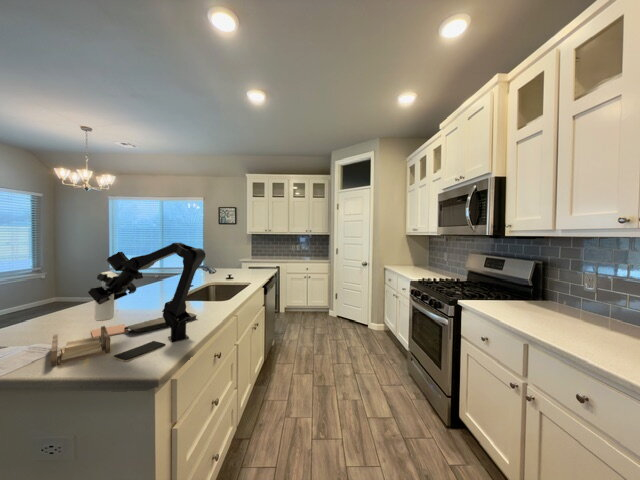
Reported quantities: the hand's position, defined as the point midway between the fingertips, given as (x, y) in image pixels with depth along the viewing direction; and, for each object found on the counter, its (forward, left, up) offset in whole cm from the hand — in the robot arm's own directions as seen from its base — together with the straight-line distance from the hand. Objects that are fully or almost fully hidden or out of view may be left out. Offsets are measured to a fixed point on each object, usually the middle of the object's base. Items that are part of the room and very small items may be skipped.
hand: (101, 303), depth 114 cm
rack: (-16, +7, -13) cm, 22 cm away
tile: (+1, -3, -13) cm, 14 cm away
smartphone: (-31, -9, -14) cm, 35 cm away
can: (-1, -1, -7) cm, 7 cm away
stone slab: (-4, -23, -13) cm, 27 cm away
